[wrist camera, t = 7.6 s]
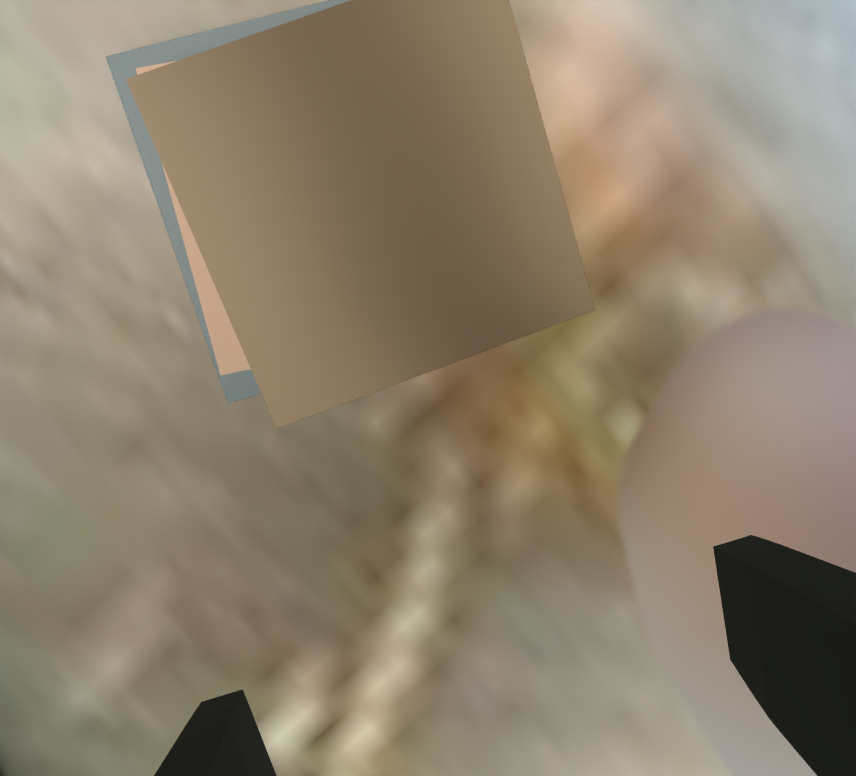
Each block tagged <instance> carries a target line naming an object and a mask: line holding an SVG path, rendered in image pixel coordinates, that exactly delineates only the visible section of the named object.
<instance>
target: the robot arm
mask: <svg viewBox="0 0 856 776" xmlns="http://www.w3.org/2000/svg"><path fill="white" fill-rule="evenodd" d="M713 548H714V554H715V561H716V568H717V575H718V581H719V588H720V594H721V601H722V608H723V614H724V620H725V627H726V634H727V641H728V647H729V653H730V660H731V661H732V663H733V664H734V666H735V667H736V669H737V670H738V672H739V674H740V675H741V677H742V678H743V680H744V681H745V683H746V685H747V686H748V688H749V689H750V691H751V692H752V694H753V695H754V697H755V698H756V700H757V701H758V703H759V704H760V706H761V707H762V709H763V710H764V711H765V713H766V714H767V716H768V717H769V719H770V720H771V721H772V722H773V724H774V725H775V726H776V727H777V728H778V730H779V731H780V732H781V733H782V734H783V736H784V737H785V738H786V739H787V740H788V742H789V743H790V744H791V745H792V746H793V747H794V749H795V750H796V751H797V752H798V753H799V755H800V756H801V757H802V758H803V759H804V760H805V762H806V763H807V764H808V765H809V766H810V768H811V769H812V770H813V771H814V772H815V773H816V775H817V776H856V573H855V572H852V571H849V570H846V569H844V568H841V567H839V566H836V565H833V564H831V563H828V562H825V561H823V560H820V559H817V558H815V557H812V556H809V555H807V554H804V553H801V552H799V551H796V550H793V549H791V548H788V547H785V546H783V545H780V544H777V543H774V542H771V541H769V540H766V539H762V538H759V537H756V536H752V535H750V536H747V537H744V538H740V539H737V540H734V541H731V542H727V543H724V544H721V545H717V546H714V547H713ZM154 776H276V774H275V771H274V768H273V766H272V763H271V761H270V758H269V756H268V753H267V750H266V748H265V745H264V743H263V740H262V738H261V735H260V732H259V730H258V727H257V725H256V722H255V720H254V717H253V714H252V712H251V709H250V707H249V704H248V702H247V699H246V696H245V694H244V691H243V690H239V691H236V692H233V693H230V694H226V695H223V696H220V697H216V698H213V699H210V700H206V701H203V702H201V703H200V705H199V706H198V708H197V709H196V711H195V712H194V714H193V715H192V717H191V718H190V720H189V721H188V723H187V725H186V726H185V728H184V729H183V731H182V732H181V734H180V736H179V737H178V739H177V740H176V742H175V744H174V745H173V747H172V748H171V750H170V751H169V753H168V755H167V756H166V758H165V759H164V761H163V762H162V764H161V766H160V767H159V769H158V770H157V772H156V773H155V775H154Z"/></svg>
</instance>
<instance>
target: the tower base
mask: <svg viewBox="0 0 856 776" xmlns="http://www.w3.org/2000/svg"><path fill="white" fill-rule="evenodd" d="M347 1H350V0H328V1H324V2H320V3H316V4H312V5H308V6H304V7H301V8H297V9H293V10H289V11H285V12H281V13H277V14H273V15H269V16H265V17H261V18H257V19H253V20H249V21H245V22H241V23H237V24H233V25H229V26H225V27H221V28H217V29H213V30H209V31H205V32H201V33H197V34H193V35H189V36H185V37H181V38H177V39H173V40H169V41H165V42H161V43H158V44H154V45H150V46H146V47H142V48H138V49H134V50H130V51H126V52H122V53H118V54H114V55H110V56H106V59H107V62H108V65H109V67H110V70H111V73H112V76H113V79H114V82H115V84H116V87H117V90H118V93H119V96H120V99H121V101H122V104H123V107H124V110H125V113H126V116H127V118H128V121H129V124H130V127H131V130H132V133H133V135H134V138H135V141H136V144H137V147H138V150H139V152H140V155H141V158H142V161H143V164H144V167H145V169H146V172H147V175H148V178H149V181H150V184H151V186H152V189H153V192H154V195H155V198H156V201H157V203H158V206H159V209H160V212H161V215H162V218H163V220H164V223H165V226H166V229H167V232H168V235H169V237H170V240H171V243H172V246H173V249H174V252H175V254H176V257H177V260H178V263H179V266H180V269H181V271H182V274H183V277H184V280H185V283H186V286H187V288H188V291H189V294H190V297H191V300H192V303H193V305H194V308H195V311H196V314H197V317H198V320H199V322H200V325H201V328H202V331H203V334H204V337H205V339H206V342H207V345H208V348H209V351H210V354H211V356H212V359H213V362H214V365H215V368H216V371H217V373H218V376H219V379H220V382H221V385H222V388H223V390H224V393H225V396H226V399H227V402H228V403H230V402H233V401H237V400H240V399H244V398H247V397H251V396H255V395H258V394H261V391H260V389H259V387H258V384H257V382H256V380H255V378H254V375H253V373H252V371H251V369H249V370H244V371H239V372H235V373H230V374H225V375H220V372H219V368H218V364H217V361H216V357H215V354H214V350H213V346H212V343H211V339H210V336H209V332H208V328H207V325H206V321H205V317H204V314H203V310H202V307H201V303H200V299H199V296H198V292H197V289H196V285H195V281H194V278H193V274H192V270H191V267H190V263H189V260H188V256H187V252H186V249H185V245H184V242H183V238H182V234H181V231H180V227H179V223H178V220H177V216H176V213H175V209H174V205H173V202H172V198H171V195H170V191H169V187H168V184H167V180H166V176H165V173H164V169H163V166H162V162H161V160H160V157H159V155H158V153H157V150H156V148H155V146H154V143H153V141H152V139H151V136H150V134H149V132H148V129H147V127H146V125H145V123H144V120H143V118H142V116H141V113H140V111H139V109H138V106H137V104H136V102H135V99H134V97H133V95H132V92H131V90H130V88H129V85H128V83H127V81H126V79H127V78H130V77H133V76H136V75H137V72H136V68H140V67H145V66H151V65H156V64H162V63H168V62H173V61H178V60H181V59H184V58H187V57H190V56H193V55H196V54H198V53H201V52H204V51H207V50H210V49H213V48H216V47H218V46H221V45H224V44H227V43H230V42H233V41H236V40H239V39H241V38H244V37H247V36H250V35H253V34H256V33H259V32H261V31H264V30H267V29H270V28H273V27H276V26H279V25H281V24H284V23H287V22H290V21H293V20H296V19H299V18H301V17H304V16H307V15H310V14H313V13H316V12H319V11H321V10H324V9H327V8H330V7H333V6H336V5H339V4H341V3H344V2H347Z"/></svg>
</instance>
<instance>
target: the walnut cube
mask: <svg viewBox="0 0 856 776" xmlns="http://www.w3.org/2000/svg"><path fill="white" fill-rule="evenodd" d="M126 81H127V83H128V85H129V88H130V90H131V92H132V95H133V97H134V99H135V102H136V104H137V106H138V109H139V111H140V113H141V116H142V118H143V120H144V123H145V125H146V127H147V129H148V132H149V134H150V136H151V139H152V141H153V143H154V146H155V148H156V150H157V153H158V155H159V157H160V160H161V162H162V164H163V167H164V169H165V171H166V174H167V176H168V178H169V180H170V183H171V185H172V187H173V190H174V192H175V194H176V197H177V199H178V201H179V204H180V206H181V208H182V211H183V213H184V215H185V218H186V220H187V222H188V225H189V227H190V229H191V231H192V234H193V236H194V238H195V241H196V243H197V245H198V248H199V250H200V252H201V255H202V257H203V259H204V262H205V264H206V266H207V269H208V271H209V273H210V276H211V278H212V280H213V282H214V285H215V287H216V289H217V292H218V294H219V296H220V299H221V301H222V303H223V306H224V308H225V310H226V313H227V315H228V317H229V320H230V322H231V324H232V327H233V329H234V331H235V333H236V336H237V338H238V340H239V343H240V345H241V347H242V350H243V352H244V354H245V357H246V359H247V361H248V364H249V366H250V368H251V371H252V373H253V375H254V378H255V380H256V382H257V384H258V387H259V389H260V391H261V394H262V396H263V398H264V401H265V403H266V405H267V408H268V410H269V412H270V415H271V417H272V419H273V422H274V424H275V426H276V428H279V427H282V426H285V425H287V424H290V423H293V422H295V421H298V420H301V419H303V418H306V417H309V416H311V415H314V414H317V413H319V412H322V411H325V410H328V409H330V408H333V407H336V406H338V405H341V404H344V403H346V402H349V401H352V400H354V399H357V398H360V397H362V396H365V395H368V394H371V393H373V392H376V391H379V390H381V389H384V388H387V387H389V386H392V385H395V384H397V383H400V382H403V381H405V380H408V379H411V378H414V377H416V376H419V375H422V374H424V373H427V372H430V371H432V370H435V369H438V368H440V367H443V366H446V365H449V364H451V363H454V362H457V361H459V360H462V359H465V358H467V357H470V356H473V355H475V354H478V353H481V352H483V351H486V350H489V349H492V348H494V347H497V346H500V345H502V344H505V343H508V342H510V341H513V340H516V339H518V338H521V337H524V336H526V335H529V334H532V333H535V332H537V331H540V330H543V329H545V328H548V327H551V326H553V325H556V324H559V323H561V322H564V321H567V320H570V319H572V318H575V317H578V316H580V315H583V314H586V313H588V312H591V311H594V310H595V309H594V305H593V301H592V298H591V294H590V291H589V287H588V283H587V280H586V276H585V273H584V269H583V265H582V262H581V258H580V255H579V251H578V247H577V244H576V240H575V236H574V233H573V229H572V226H571V222H570V218H569V215H568V211H567V208H566V204H565V200H564V197H563V193H562V190H561V186H560V182H559V179H558V175H557V172H556V168H555V164H554V161H553V157H552V154H551V150H550V146H549V143H548V139H547V136H546V132H545V128H544V125H543V121H542V118H541V114H540V110H539V107H538V103H537V100H536V96H535V92H534V89H533V85H532V82H531V78H530V74H529V71H528V67H527V64H526V60H525V56H524V53H523V49H522V46H521V42H520V38H519V35H518V31H517V28H516V24H515V20H514V17H513V13H512V10H511V6H510V2H509V0H350V1H347V2H344V3H341V4H339V5H336V6H333V7H330V8H327V9H324V10H321V11H319V12H316V13H313V14H310V15H307V16H304V17H301V18H299V19H296V20H293V21H290V22H287V23H284V24H281V25H279V26H276V27H273V28H270V29H267V30H264V31H261V32H259V33H256V34H253V35H250V36H247V37H244V38H241V39H239V40H236V41H233V42H230V43H227V44H224V45H221V46H218V47H216V48H213V49H210V50H207V51H204V52H201V53H198V54H196V55H193V56H190V57H187V58H184V59H181V60H178V61H176V62H173V63H170V64H167V65H164V66H161V67H158V68H156V69H153V70H150V71H147V72H144V73H141V74H138V75H136V76H133V77H130V78H127V79H126Z"/></svg>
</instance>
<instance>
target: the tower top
mask: <svg viewBox="0 0 856 776" xmlns="http://www.w3.org/2000/svg"><path fill="white" fill-rule="evenodd" d="M173 62H176V61H173ZM173 62H168V63H162V64H156V65H151V66H145V67H140V68H136V72H137V75H138V74H141V73H144V72H147V71H150V70H153V69H156V68H158V67H161V66H164V65H167V64H170V63H173ZM162 166H163V164H162ZM163 169H164V167H163ZM164 173H165V176H166V180H167V184H168V187H169V191H170V195H171V198H172V202H173V205H174V209H175V213H176V216H177V220H178V223H179V227H180V231H181V234H182V238H183V242H184V245H185V249H186V252H187V256H188V260H189V263H190V267H191V270H192V274H193V278H194V281H195V285H196V289H197V292H198V296H199V299H200V303H201V307H202V310H203V314H204V317H205V321H206V325H207V328H208V332H209V336H210V339H211V343H212V346H213V350H214V354H215V357H216V361H217V364H218V368H219V372H220V375H225V374H230V373H235V372H239V371H244V370H249V369H251V368H250V366H249V364H248V361H247V359H246V357H245V354H244V352H243V350H242V347H241V345H240V343H239V340H238V338H237V336H236V333H235V331H234V329H233V327H232V324H231V322H230V320H229V317H228V315H227V313H226V310H225V308H224V306H223V303H222V301H221V299H220V296H219V294H218V292H217V289H216V287H215V285H214V282H213V280H212V278H211V276H210V273H209V271H208V269H207V266H206V264H205V262H204V259H203V257H202V255H201V252H200V250H199V248H198V245H197V243H196V241H195V238H194V236H193V234H192V231H191V229H190V227H189V225H188V222H187V220H186V218H185V215H184V213H183V211H182V208H181V206H180V204H179V201H178V199H177V197H176V194H175V192H174V190H173V187H172V185H171V183H170V180H169V178H168V176H167V174H166V171H165V169H164Z"/></svg>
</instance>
